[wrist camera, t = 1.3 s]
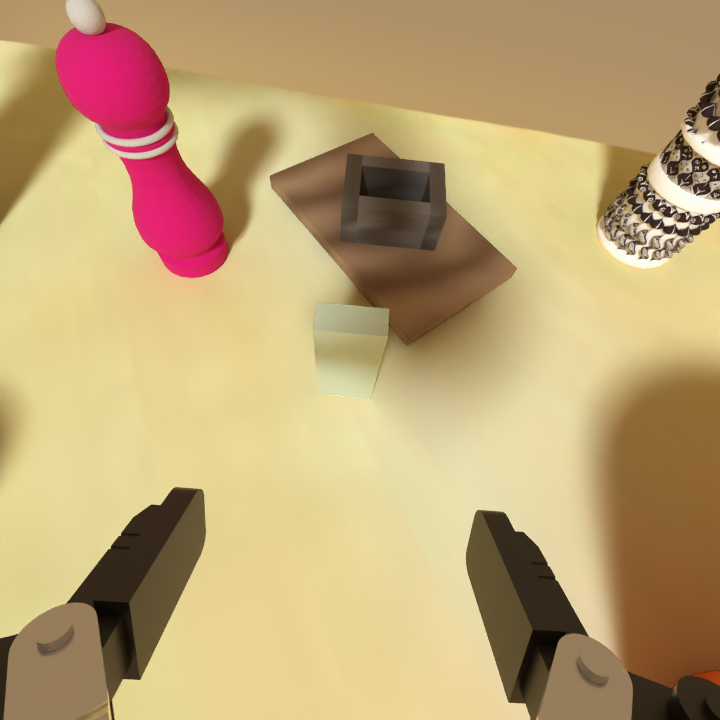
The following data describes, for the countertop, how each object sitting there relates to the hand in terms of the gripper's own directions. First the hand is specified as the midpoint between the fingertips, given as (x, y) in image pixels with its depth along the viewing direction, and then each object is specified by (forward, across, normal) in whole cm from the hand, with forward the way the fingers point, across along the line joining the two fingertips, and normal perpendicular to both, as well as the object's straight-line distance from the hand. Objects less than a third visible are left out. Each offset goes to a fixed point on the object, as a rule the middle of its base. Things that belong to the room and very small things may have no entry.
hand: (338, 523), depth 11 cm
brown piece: (+34, -3, -8) cm, 35 cm away
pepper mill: (+31, +16, -4) cm, 35 cm away
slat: (+22, 0, +5) cm, 22 cm away
